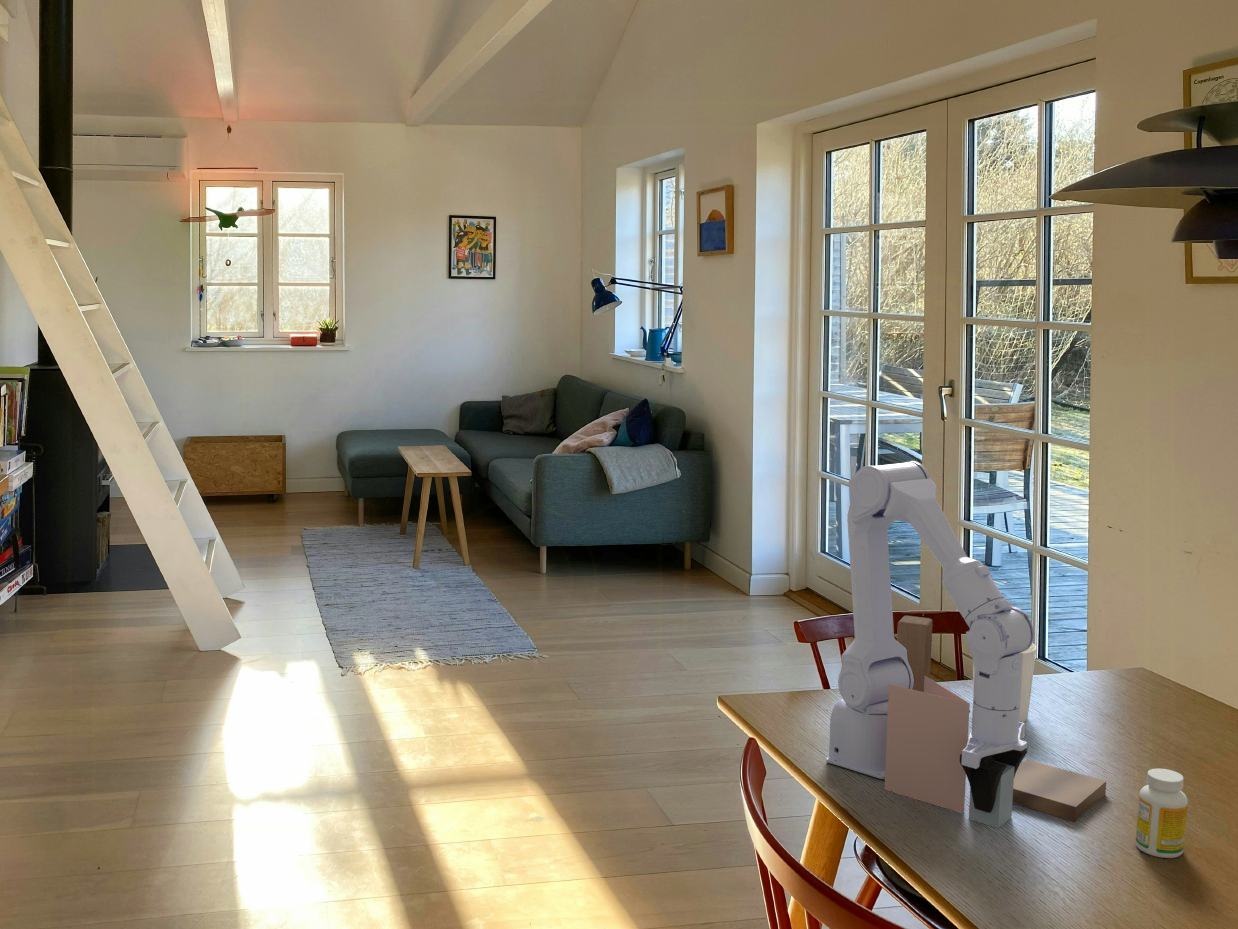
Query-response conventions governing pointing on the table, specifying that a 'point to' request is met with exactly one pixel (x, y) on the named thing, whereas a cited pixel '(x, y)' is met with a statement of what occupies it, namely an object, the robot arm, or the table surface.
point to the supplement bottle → (1162, 814)
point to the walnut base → (1056, 790)
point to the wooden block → (917, 646)
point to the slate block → (997, 802)
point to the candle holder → (1024, 681)
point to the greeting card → (927, 744)
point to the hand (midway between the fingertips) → (990, 804)
